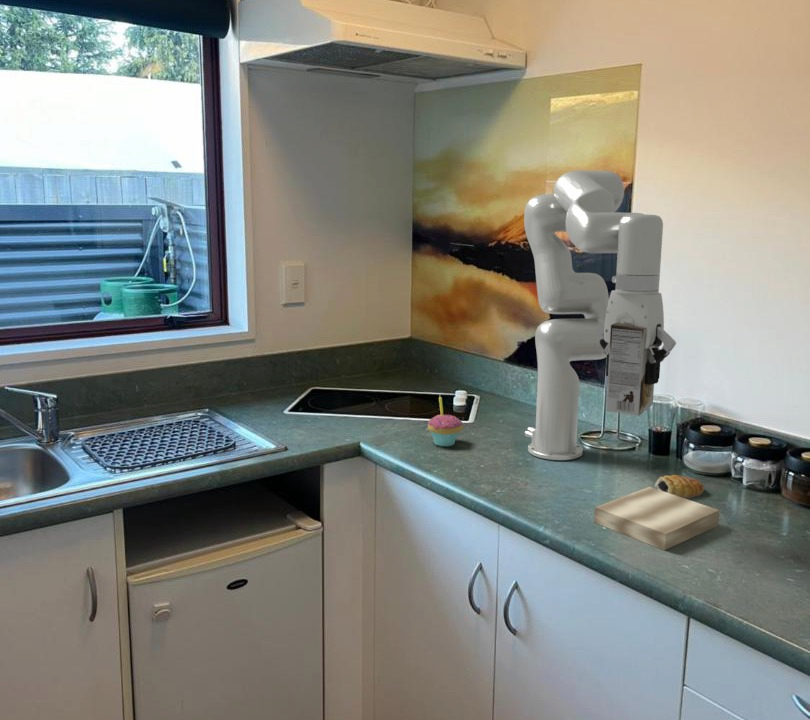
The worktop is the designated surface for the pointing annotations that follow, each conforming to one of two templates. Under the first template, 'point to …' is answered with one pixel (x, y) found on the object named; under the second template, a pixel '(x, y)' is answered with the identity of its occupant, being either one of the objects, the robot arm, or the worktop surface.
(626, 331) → the coffee box
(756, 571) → the worktop surface
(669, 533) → the birch base
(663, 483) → the pastry
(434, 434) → the cupcake
